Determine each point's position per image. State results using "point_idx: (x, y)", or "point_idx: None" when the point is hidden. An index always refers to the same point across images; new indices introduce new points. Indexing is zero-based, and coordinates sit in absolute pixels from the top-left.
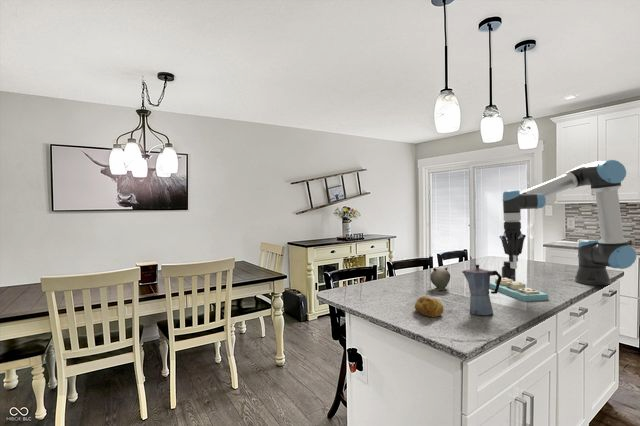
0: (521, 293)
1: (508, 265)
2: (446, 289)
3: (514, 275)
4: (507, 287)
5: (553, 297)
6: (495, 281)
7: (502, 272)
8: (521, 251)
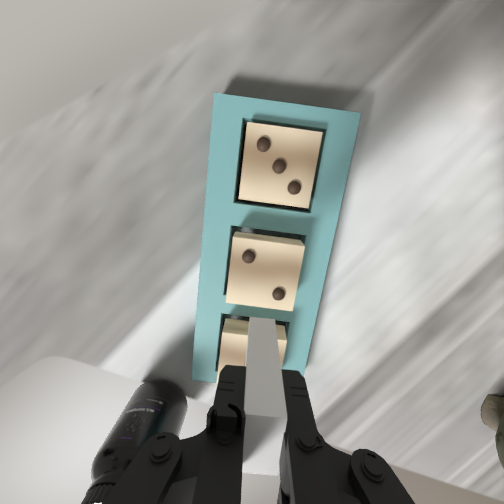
0: (330, 159)
1: None
2: (495, 397)
3: (132, 412)
4: None
5: (162, 131)
6: None
7: None
8: (132, 469)
